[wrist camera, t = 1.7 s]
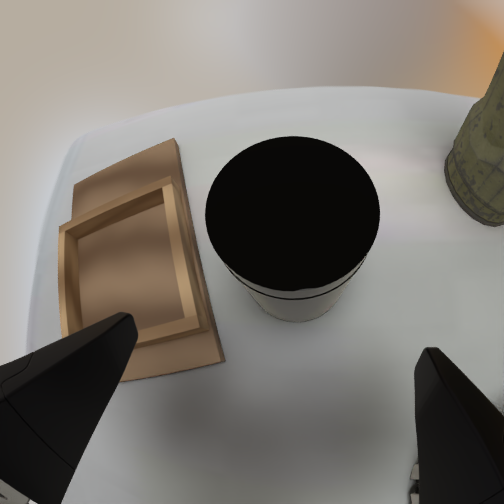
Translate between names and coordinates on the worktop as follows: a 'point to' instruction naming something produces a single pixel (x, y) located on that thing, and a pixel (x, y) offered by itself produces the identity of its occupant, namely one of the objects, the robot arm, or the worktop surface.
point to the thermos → (481, 157)
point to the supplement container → (293, 223)
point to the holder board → (139, 263)
